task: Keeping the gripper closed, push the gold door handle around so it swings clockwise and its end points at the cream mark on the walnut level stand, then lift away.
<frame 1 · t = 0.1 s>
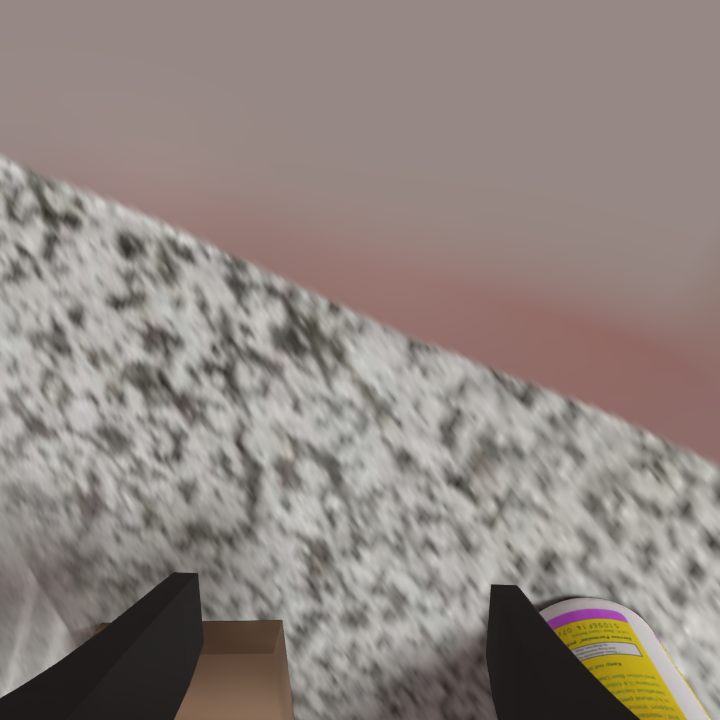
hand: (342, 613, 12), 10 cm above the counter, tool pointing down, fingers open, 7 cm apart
supplement bottle: (578, 648, 24), on the counter
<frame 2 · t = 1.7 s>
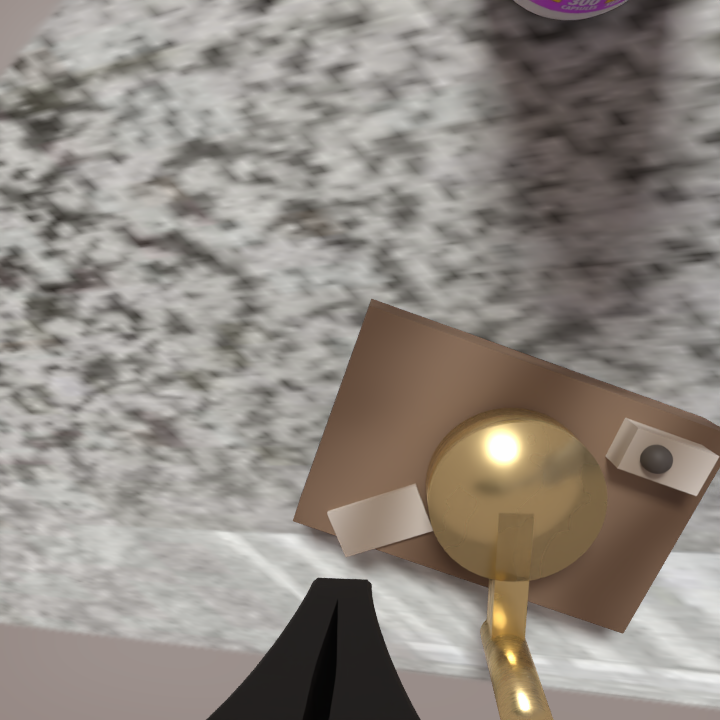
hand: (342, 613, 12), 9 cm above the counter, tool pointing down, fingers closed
gold door handle: (519, 568, 17), point 5 cm above the counter, hinge at 110.0°
level stand: (494, 458, 21), on the counter
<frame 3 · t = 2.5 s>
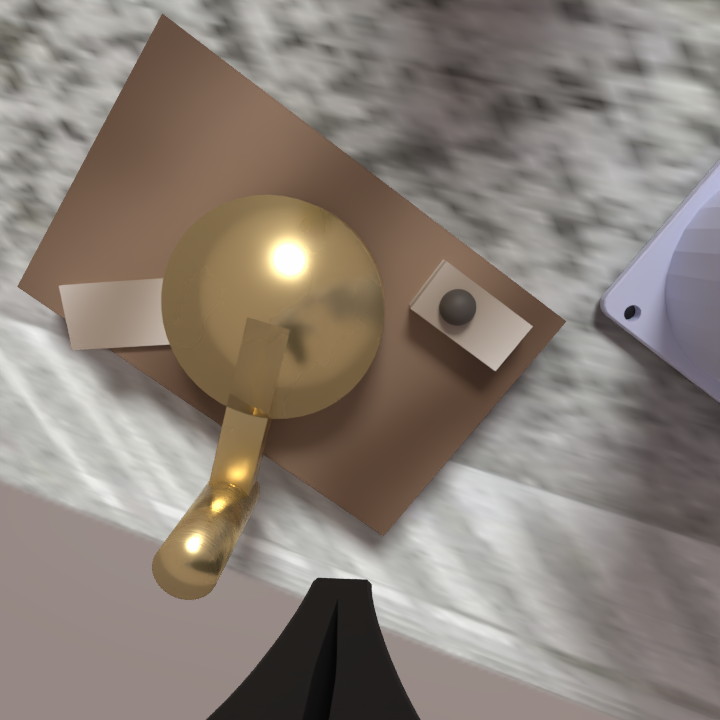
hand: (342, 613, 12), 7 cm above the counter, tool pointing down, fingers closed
gold door handle: (248, 386, 13), point 5 cm above the counter, hinge at 110.0°
level stand: (297, 295, 17), on the counter
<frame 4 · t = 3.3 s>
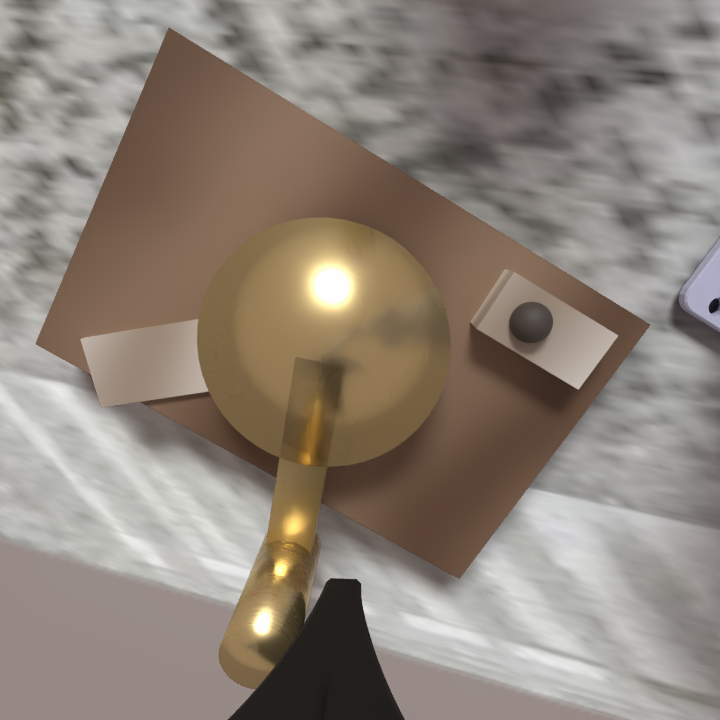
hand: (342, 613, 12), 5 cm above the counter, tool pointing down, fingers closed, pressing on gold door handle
gold door handle: (304, 435, 12), point 5 cm above the counter, hinge at 109.8°, touching gripper
level stand: (338, 322, 16), on the counter
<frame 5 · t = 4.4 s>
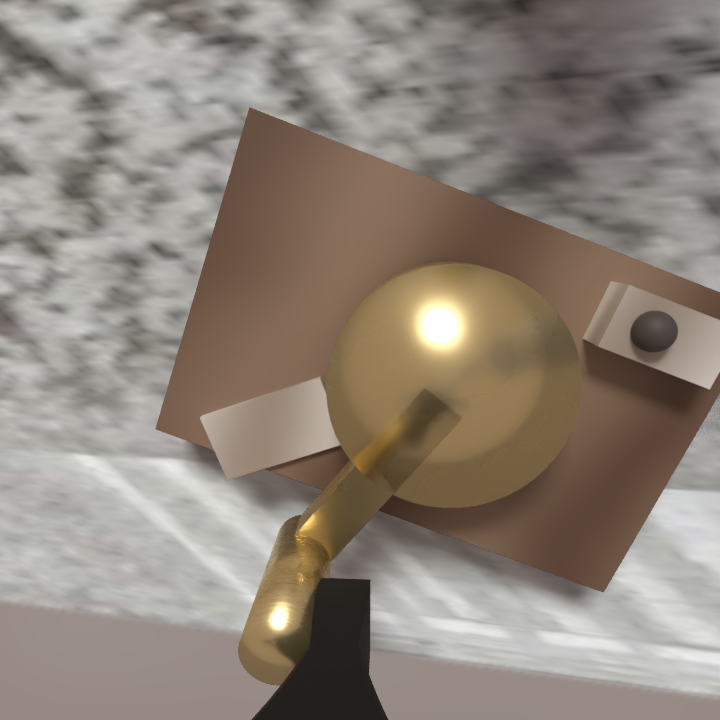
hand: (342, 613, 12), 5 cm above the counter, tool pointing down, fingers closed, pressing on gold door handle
gold door handle: (401, 464, 12), point 5 cm above the counter, hinge at 71.8°, touching gripper
level stand: (436, 356, 16), on the counter
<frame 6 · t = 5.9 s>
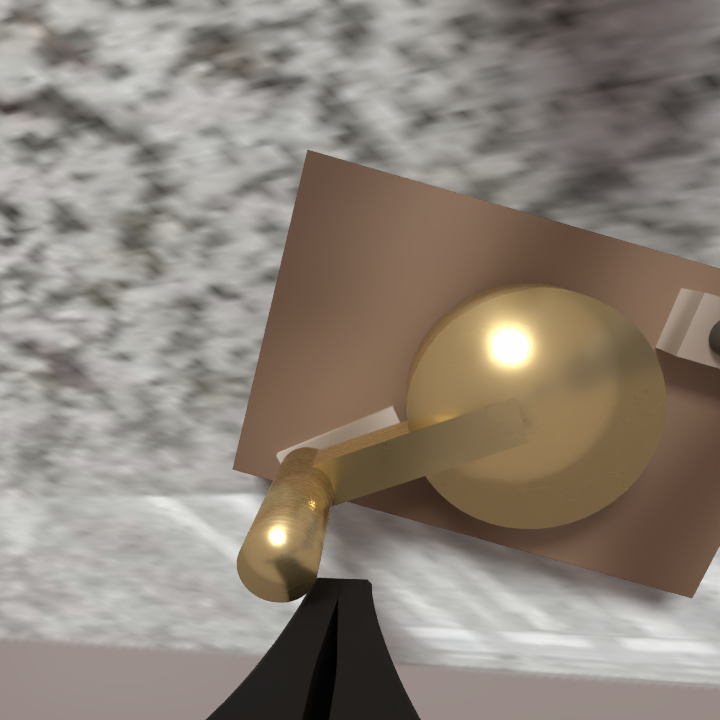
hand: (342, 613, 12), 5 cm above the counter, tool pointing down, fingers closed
gold door handle: (461, 454, 12), point 5 cm above the counter, hinge at 36.6°
level stand: (500, 373, 16), on the counter
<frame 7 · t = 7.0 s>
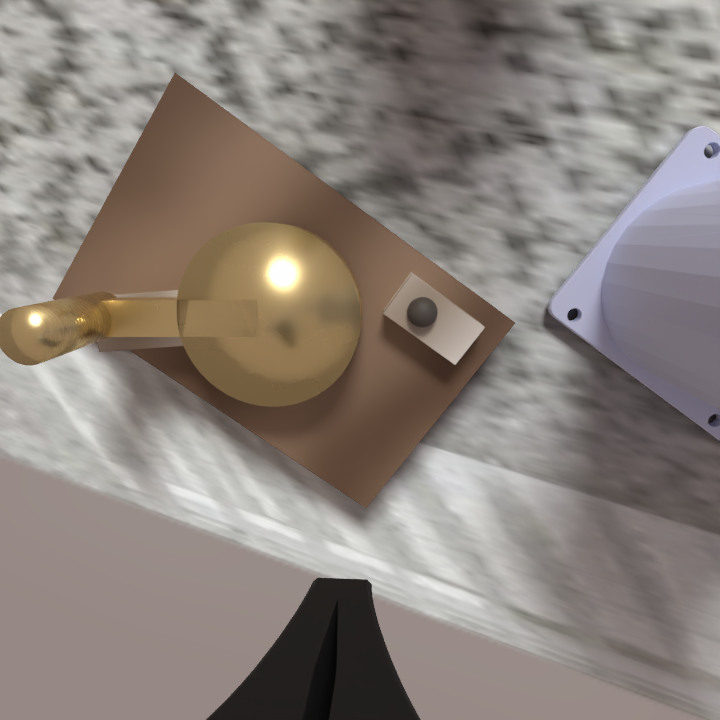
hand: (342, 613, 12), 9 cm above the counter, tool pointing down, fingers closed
gold door handle: (201, 322, 16), point 5 cm above the counter, hinge at 36.0°
level stand: (289, 303, 20), on the counter
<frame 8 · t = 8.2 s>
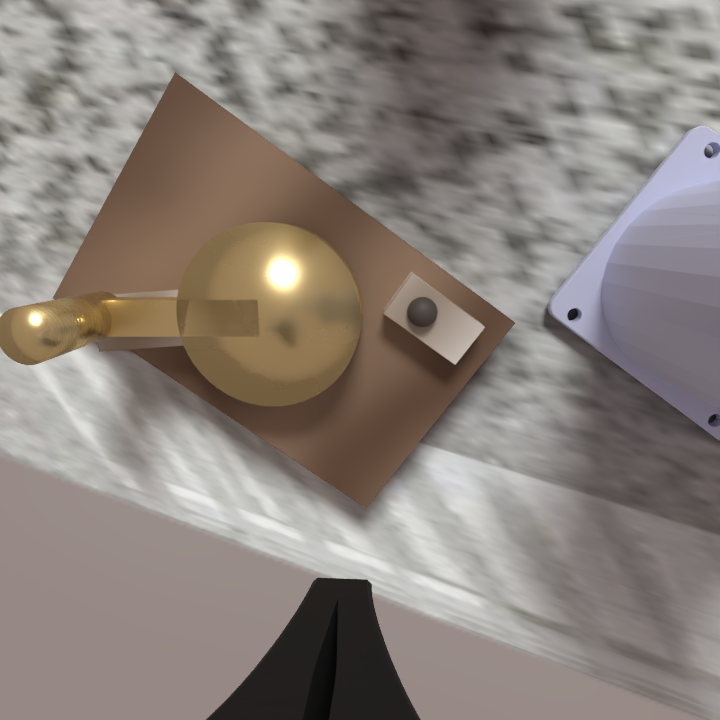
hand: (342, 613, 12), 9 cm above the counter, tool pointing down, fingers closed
gold door handle: (201, 322, 16), point 5 cm above the counter, hinge at 36.0°
level stand: (289, 302, 20), on the counter
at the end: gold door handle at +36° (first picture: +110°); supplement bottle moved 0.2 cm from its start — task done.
